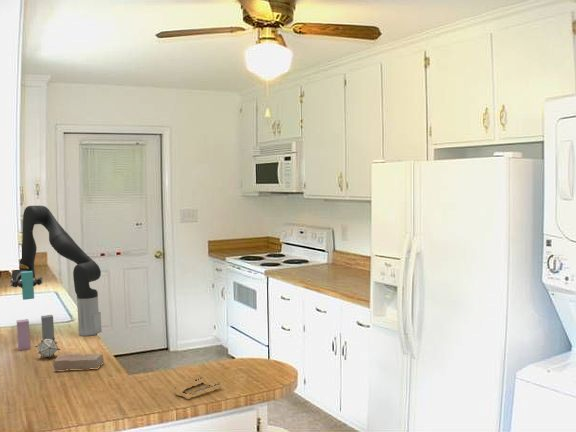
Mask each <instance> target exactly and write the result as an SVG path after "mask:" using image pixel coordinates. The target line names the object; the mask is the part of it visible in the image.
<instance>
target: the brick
mask: <svg viewBox="0 0 576 432" xmlns="http://www.w3.org/2000/svg"><path fill="white" fill-rule="evenodd" d="M52 362H53V365H52V366H53V370H66V369H68V370H70V369H90V368H98V367H99V366H100V365H101V364H102V363H104V362H105V361H104V355H103V353H88V354H87V353H86V354H73V353H72V354H71V353H67V354H66V353H62V354H59V355H58V356H57V357H56V358H55V360H53V361H52Z"/></svg>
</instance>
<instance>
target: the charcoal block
mask: <svg viewBox="0 0 576 432" xmlns="http://www.w3.org/2000/svg"><path fill="white" fill-rule="evenodd" d="M40 319H41V335H42V336H41V338H42V341H43V340H44V339H45V337H46V339H54V338H55V328H54V327H55V325H54V316H53V314H47V315H41V317H40ZM54 341H55V342H56V340H55V339H54Z"/></svg>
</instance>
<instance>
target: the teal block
mask: <svg viewBox="0 0 576 432" xmlns="http://www.w3.org/2000/svg"><path fill="white" fill-rule="evenodd" d="M21 279H22V284H23V288H21V289H22V290H21V291H22V292H21V293H22V300H34V299H35V290H34V287H35V286H33V272H32V271H25V272H21Z"/></svg>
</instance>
